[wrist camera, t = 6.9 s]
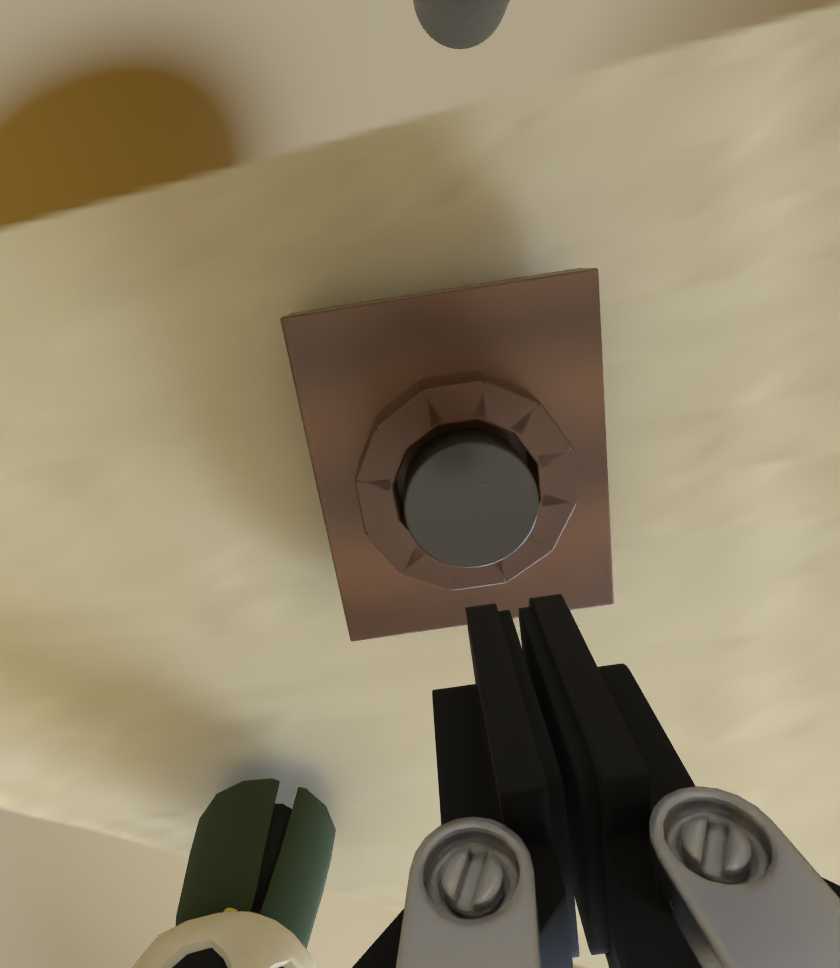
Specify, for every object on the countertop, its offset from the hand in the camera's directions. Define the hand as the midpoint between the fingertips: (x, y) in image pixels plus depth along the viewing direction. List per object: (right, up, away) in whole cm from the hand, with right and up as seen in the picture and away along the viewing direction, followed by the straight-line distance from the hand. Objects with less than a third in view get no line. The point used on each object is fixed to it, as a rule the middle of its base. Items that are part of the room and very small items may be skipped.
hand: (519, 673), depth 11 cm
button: (0, +3, +9) cm, 10 cm away
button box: (0, +4, +12) cm, 13 cm away
